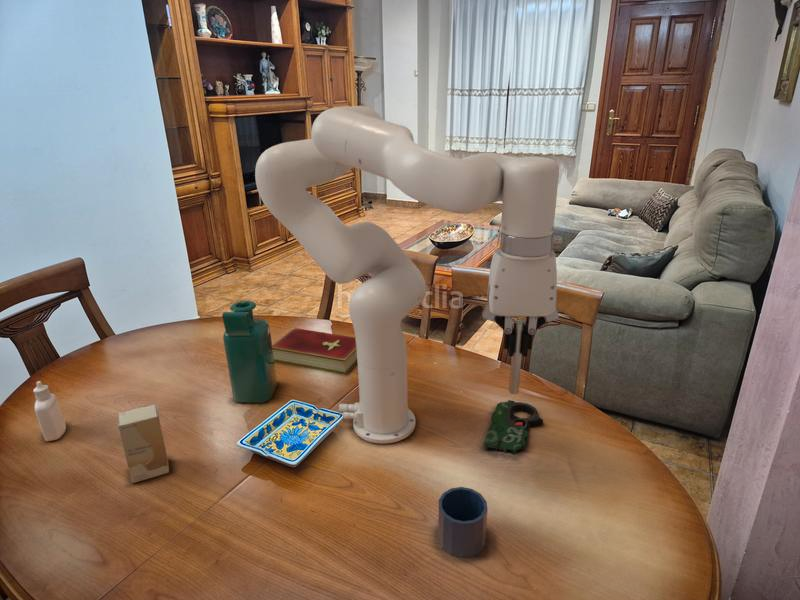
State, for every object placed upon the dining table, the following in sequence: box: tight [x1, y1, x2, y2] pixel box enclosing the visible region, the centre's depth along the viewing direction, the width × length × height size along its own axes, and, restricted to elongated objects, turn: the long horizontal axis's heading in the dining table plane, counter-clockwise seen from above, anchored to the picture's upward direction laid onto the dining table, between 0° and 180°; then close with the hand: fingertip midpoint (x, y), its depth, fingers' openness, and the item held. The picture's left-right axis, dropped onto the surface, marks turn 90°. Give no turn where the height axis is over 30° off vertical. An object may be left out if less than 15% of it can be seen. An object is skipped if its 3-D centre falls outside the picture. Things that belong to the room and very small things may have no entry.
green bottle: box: [222, 300, 278, 404], centre depth 110 cm, size 10×8×22 cm
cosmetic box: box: [117, 403, 170, 484], centre depth 90 cm, size 6×4×12 cm
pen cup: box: [437, 486, 488, 559], centre depth 76 cm, size 7×7×7 cm
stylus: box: [508, 319, 526, 395], centre depth 83 cm, size 2×2×13 cm
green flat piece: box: [483, 399, 544, 456], centre depth 101 cm, size 16×2×10 cm
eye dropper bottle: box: [32, 380, 67, 442], centre depth 101 cm, size 4×6×12 cm
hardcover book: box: [272, 327, 358, 376], centre depth 130 cm, size 12×21×4 cm, turn 70°
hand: (516, 352), depth 83 cm, fingers closed on stylus, 1 cm apart
